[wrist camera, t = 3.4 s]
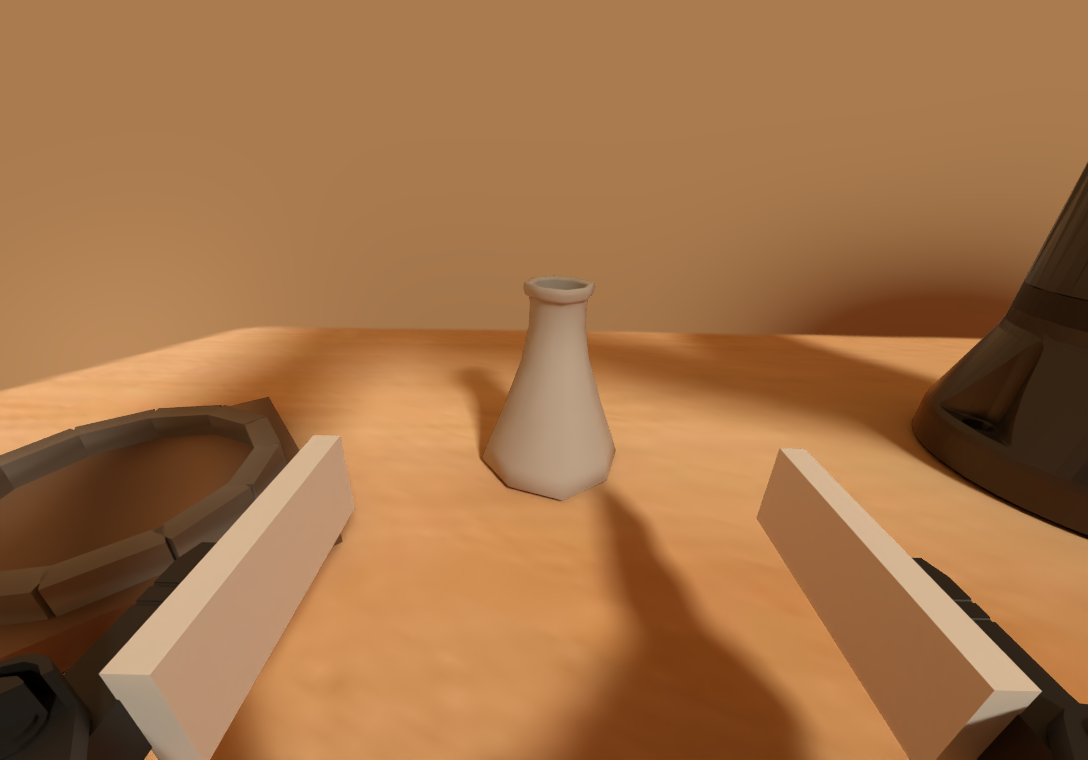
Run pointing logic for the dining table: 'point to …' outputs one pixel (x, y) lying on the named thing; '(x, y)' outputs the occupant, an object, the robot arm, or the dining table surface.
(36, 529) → the walnut seat board
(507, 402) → the flask
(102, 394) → the dining table surface
